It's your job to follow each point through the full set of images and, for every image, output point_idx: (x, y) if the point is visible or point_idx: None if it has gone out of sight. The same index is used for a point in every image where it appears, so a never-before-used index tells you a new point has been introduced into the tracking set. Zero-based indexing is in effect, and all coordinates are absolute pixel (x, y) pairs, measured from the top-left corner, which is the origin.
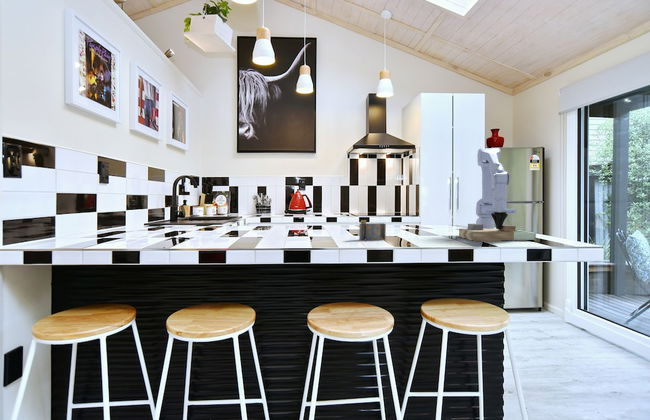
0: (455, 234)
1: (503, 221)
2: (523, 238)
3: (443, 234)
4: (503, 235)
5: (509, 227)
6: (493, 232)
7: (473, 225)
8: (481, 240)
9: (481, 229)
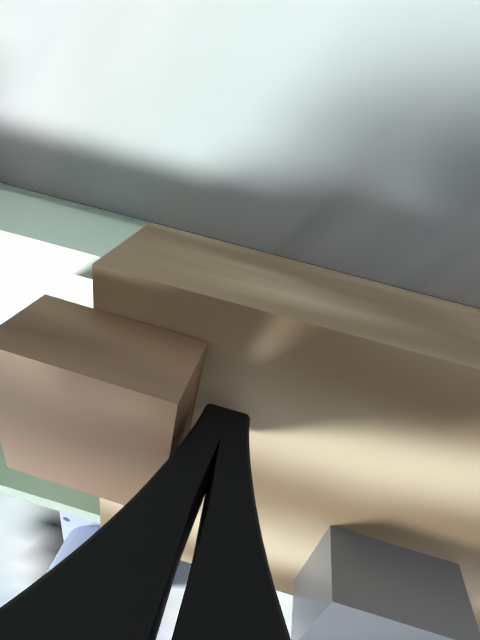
0: None
1: (144, 501)
2: (16, 198)
3: None
4: (266, 283)
5: (101, 355)
6: (425, 350)
7: (467, 629)
8: None
9: (351, 537)
